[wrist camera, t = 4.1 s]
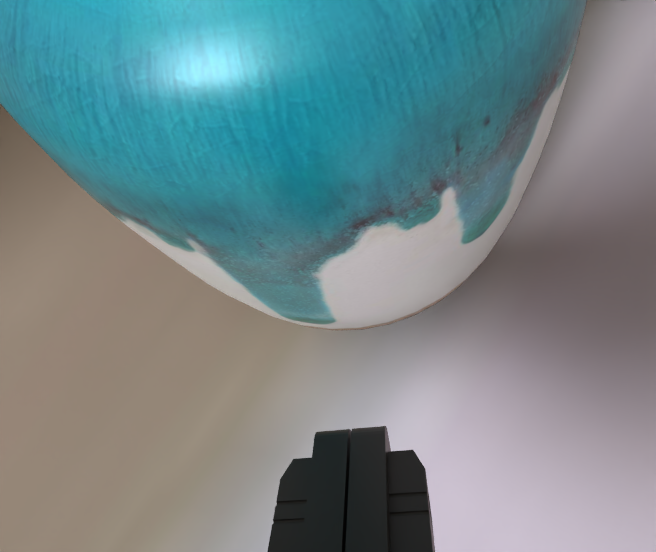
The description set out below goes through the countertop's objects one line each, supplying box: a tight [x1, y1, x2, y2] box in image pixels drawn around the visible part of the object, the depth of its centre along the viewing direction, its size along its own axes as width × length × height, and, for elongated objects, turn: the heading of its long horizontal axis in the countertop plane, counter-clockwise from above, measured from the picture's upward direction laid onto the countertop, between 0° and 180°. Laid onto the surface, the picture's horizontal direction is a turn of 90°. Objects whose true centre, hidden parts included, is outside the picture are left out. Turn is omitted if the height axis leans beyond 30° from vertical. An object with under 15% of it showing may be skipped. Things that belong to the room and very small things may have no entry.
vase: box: [0, 0, 587, 330], centre depth 12 cm, size 11×11×19 cm
